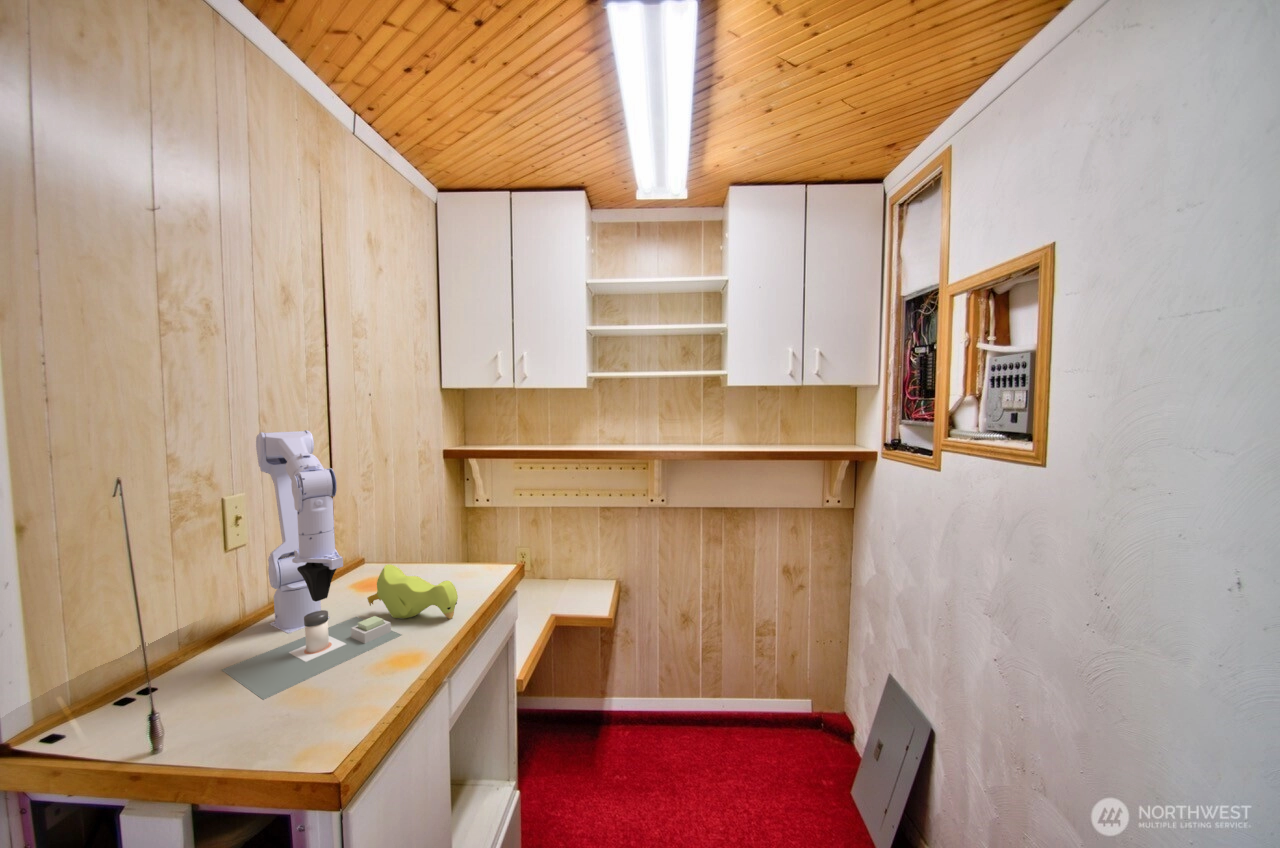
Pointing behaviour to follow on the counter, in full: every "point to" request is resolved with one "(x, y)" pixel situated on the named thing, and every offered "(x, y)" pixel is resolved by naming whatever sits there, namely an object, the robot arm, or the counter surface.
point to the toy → (412, 594)
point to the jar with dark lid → (316, 631)
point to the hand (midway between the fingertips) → (320, 599)
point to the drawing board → (307, 658)
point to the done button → (370, 623)
